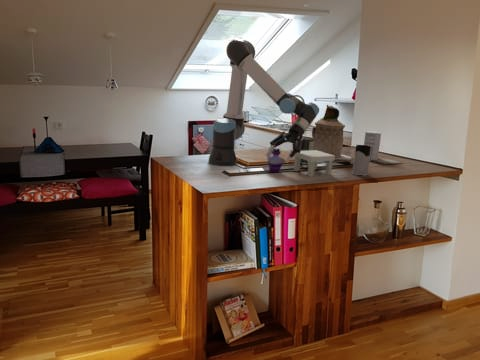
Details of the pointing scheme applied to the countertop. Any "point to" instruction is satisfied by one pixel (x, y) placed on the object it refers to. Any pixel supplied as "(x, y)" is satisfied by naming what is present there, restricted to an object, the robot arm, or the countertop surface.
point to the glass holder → (362, 159)
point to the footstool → (314, 161)
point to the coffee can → (306, 147)
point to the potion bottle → (275, 161)
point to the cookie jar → (329, 134)
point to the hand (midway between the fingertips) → (276, 158)
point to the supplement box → (373, 142)
